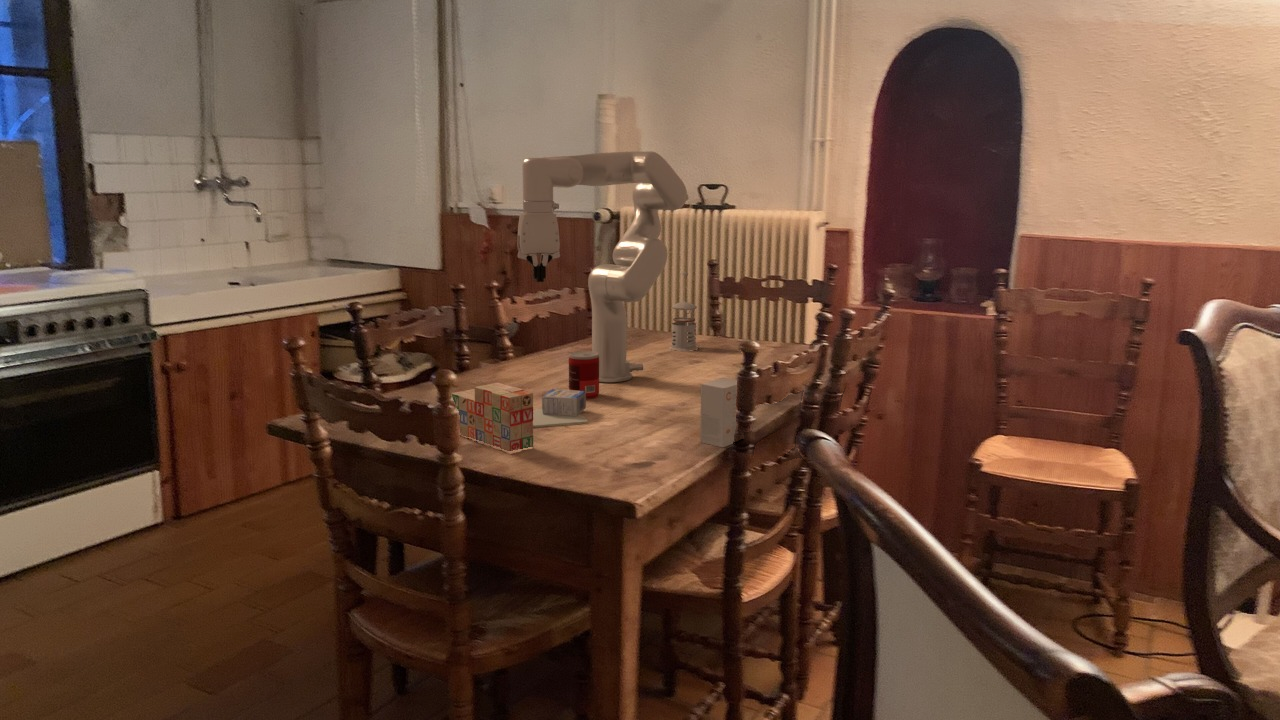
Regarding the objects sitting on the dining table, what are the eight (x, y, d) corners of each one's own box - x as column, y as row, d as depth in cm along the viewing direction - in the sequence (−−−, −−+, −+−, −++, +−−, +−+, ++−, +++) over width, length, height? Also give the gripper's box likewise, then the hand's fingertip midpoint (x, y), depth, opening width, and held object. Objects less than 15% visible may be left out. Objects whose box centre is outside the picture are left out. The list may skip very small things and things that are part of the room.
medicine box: (577, 398, 220) (541, 395, 221) (577, 417, 220) (541, 414, 222) (586, 390, 227) (551, 388, 229) (586, 408, 228) (551, 406, 230)
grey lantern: (665, 350, 304) (666, 272, 299) (674, 344, 314) (675, 269, 309) (694, 352, 301) (696, 273, 296) (703, 345, 312) (704, 270, 307)
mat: (572, 408, 230) (572, 406, 230) (587, 423, 217) (587, 421, 217) (499, 414, 224) (499, 412, 224) (509, 429, 211) (509, 427, 211)
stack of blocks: (451, 434, 208) (449, 379, 205) (475, 428, 212) (473, 375, 210) (510, 455, 193) (509, 396, 190) (534, 449, 197) (533, 391, 195)
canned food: (603, 393, 245) (603, 352, 243) (592, 400, 238) (592, 357, 236) (576, 391, 248) (576, 350, 245) (564, 398, 240) (563, 355, 238)
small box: (720, 434, 209) (722, 377, 206) (744, 440, 205) (746, 381, 202) (699, 442, 202) (700, 383, 200) (723, 448, 198) (724, 387, 196)
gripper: (563, 207, 241) (564, 279, 245) (505, 207, 237) (507, 280, 241) (571, 208, 234) (571, 282, 238) (511, 209, 230) (512, 284, 234)
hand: (539, 281), depth 239 cm, fingers closed
